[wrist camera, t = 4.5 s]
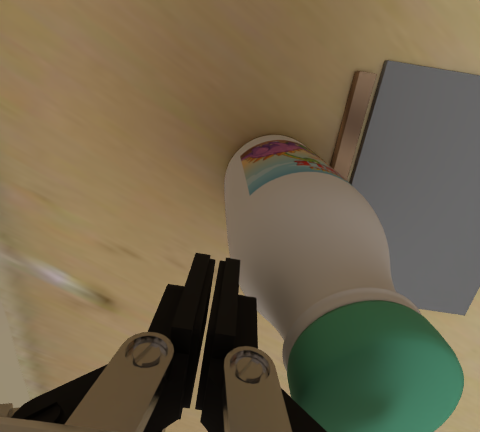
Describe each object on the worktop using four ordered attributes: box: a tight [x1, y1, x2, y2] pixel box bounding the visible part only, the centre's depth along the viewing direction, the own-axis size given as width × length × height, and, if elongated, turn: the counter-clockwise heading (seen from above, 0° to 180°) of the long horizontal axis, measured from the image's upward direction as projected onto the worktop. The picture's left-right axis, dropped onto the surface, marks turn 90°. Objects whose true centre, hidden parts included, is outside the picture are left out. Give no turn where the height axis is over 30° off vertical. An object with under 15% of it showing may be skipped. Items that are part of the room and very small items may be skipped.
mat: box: [350, 60, 480, 315], centre depth 27 cm, size 20×14×1 cm
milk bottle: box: [224, 135, 464, 432], centre depth 18 cm, size 8×8×20 cm
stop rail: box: [331, 71, 377, 180], centre depth 27 cm, size 18×1×1 cm, turn 171°
